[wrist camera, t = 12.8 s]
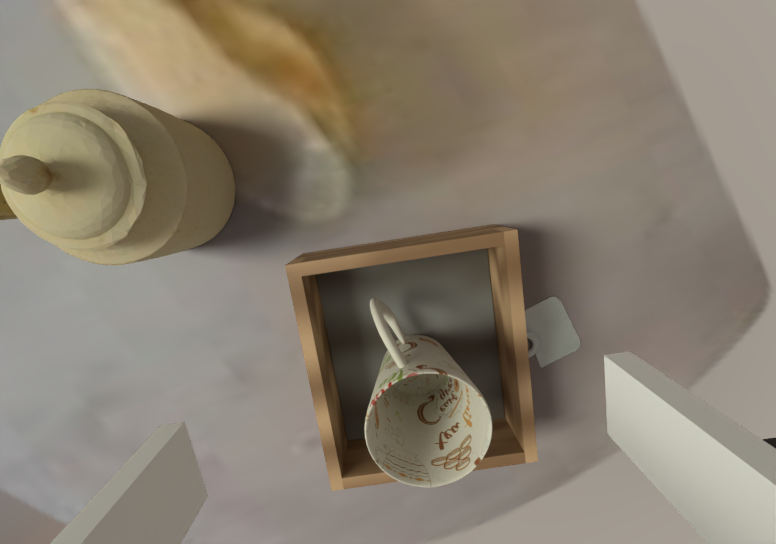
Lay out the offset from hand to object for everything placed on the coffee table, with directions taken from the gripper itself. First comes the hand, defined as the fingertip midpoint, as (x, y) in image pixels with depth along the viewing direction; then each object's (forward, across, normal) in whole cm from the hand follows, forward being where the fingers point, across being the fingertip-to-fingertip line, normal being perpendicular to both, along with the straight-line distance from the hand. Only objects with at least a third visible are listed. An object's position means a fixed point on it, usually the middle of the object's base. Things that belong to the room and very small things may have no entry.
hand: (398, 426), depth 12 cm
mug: (+21, 0, -7) cm, 22 cm away
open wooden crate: (+22, +1, -7) cm, 23 cm away
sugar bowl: (+23, -19, +10) cm, 31 cm away
